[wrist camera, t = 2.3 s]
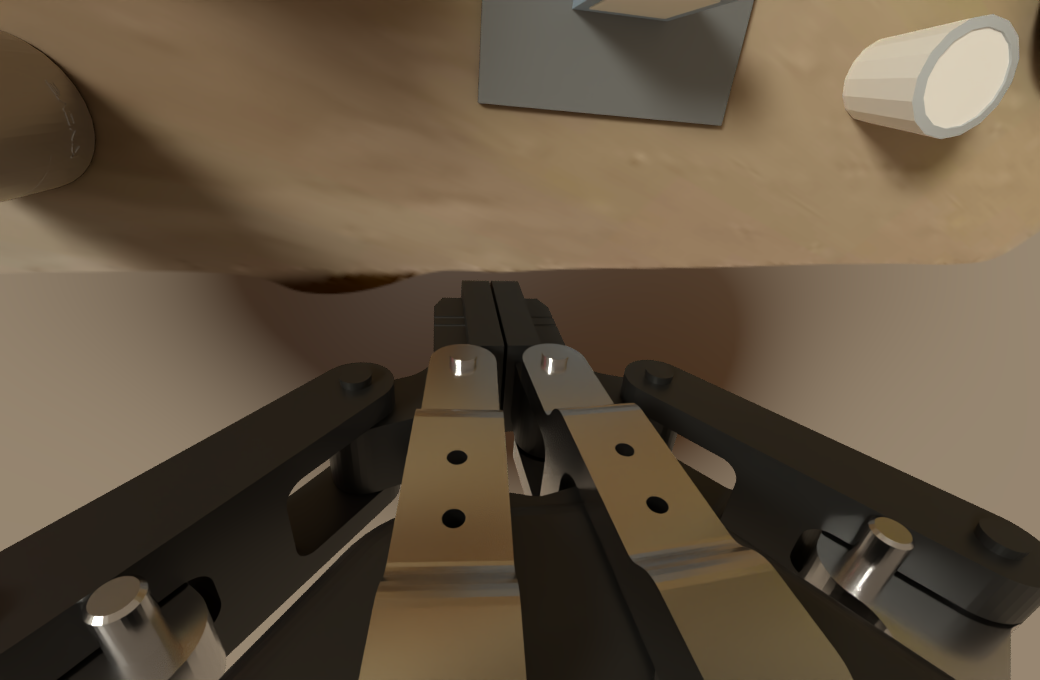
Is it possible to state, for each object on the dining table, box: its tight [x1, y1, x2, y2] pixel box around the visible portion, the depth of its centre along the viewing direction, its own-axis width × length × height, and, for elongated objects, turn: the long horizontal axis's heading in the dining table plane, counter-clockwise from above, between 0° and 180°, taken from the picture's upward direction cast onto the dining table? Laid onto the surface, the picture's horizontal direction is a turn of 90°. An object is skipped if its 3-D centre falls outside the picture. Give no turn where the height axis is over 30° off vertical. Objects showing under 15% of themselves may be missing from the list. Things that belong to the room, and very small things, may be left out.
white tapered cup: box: [842, 14, 1019, 139], centre depth 33 cm, size 7×7×7 cm
